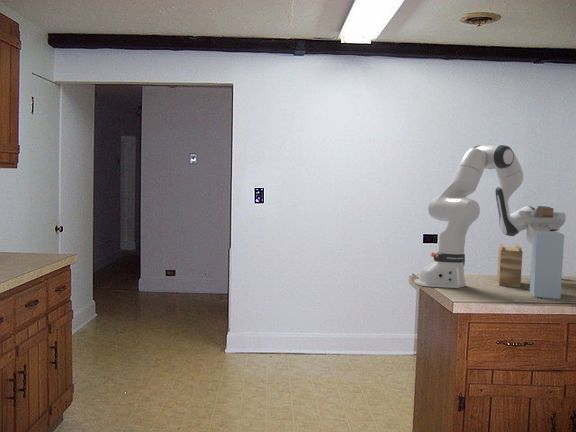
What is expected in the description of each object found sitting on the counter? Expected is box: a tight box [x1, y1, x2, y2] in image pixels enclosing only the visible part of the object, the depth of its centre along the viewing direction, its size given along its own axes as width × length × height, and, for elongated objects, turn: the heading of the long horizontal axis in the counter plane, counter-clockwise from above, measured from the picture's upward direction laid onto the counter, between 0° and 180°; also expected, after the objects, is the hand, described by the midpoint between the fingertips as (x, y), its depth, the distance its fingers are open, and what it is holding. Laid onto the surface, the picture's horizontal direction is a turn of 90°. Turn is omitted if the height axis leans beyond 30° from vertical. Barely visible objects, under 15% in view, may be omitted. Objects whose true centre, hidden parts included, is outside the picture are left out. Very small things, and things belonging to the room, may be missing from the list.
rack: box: [496, 243, 524, 288], centre depth 276 cm, size 16×9×18 cm, turn 164°
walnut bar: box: [537, 205, 555, 218], centre depth 262 cm, size 20×4×4 cm, turn 164°
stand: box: [528, 231, 565, 300], centre depth 250 cm, size 16×10×26 cm, turn 164°
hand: (543, 210), depth 268 cm, fingers closed on walnut bar, 4 cm apart
